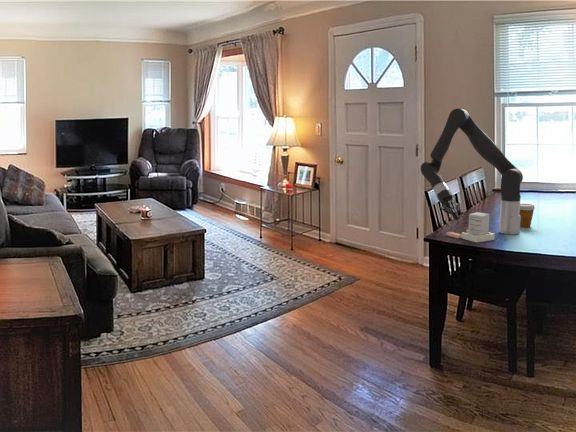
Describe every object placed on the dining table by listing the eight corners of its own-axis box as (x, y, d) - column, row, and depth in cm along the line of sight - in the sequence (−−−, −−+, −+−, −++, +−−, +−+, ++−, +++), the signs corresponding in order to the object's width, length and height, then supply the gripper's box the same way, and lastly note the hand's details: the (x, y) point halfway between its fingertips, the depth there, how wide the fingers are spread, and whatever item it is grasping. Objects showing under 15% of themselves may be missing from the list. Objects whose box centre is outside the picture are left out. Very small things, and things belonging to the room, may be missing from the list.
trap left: (462, 237, 278) (462, 234, 278) (457, 238, 277) (457, 235, 277) (451, 234, 285) (451, 231, 285) (446, 235, 284) (446, 232, 284)
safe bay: (494, 239, 273) (494, 233, 273) (476, 242, 268) (476, 236, 268) (479, 235, 282) (479, 229, 282) (461, 238, 277) (461, 232, 277)
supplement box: (475, 236, 281) (476, 211, 279) (488, 238, 276) (490, 213, 273) (467, 238, 276) (468, 213, 274) (481, 241, 271) (482, 215, 268)
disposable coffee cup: (536, 226, 302) (537, 204, 300) (529, 229, 296) (531, 207, 293) (518, 224, 309) (520, 202, 307) (511, 226, 302) (513, 205, 300)
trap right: (481, 235, 284) (481, 232, 283) (477, 235, 282) (477, 232, 282) (470, 232, 291) (470, 229, 290) (466, 232, 289) (466, 229, 289)
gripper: (437, 189, 290) (452, 216, 282) (456, 188, 296) (471, 214, 288) (429, 197, 296) (444, 224, 287) (448, 196, 302) (463, 222, 293)
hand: (457, 219), depth 288 cm, fingers closed
